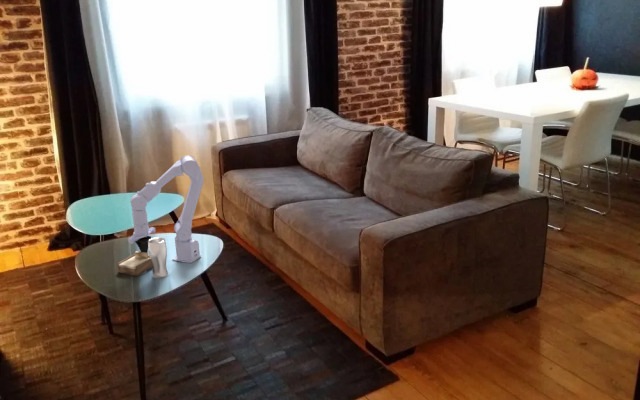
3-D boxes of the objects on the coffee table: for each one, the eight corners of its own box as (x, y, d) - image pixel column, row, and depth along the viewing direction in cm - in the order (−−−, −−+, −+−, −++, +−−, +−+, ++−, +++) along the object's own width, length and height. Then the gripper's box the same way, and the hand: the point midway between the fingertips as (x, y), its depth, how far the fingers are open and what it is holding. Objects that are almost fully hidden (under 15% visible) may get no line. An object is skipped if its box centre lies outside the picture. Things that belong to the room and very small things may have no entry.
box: (155, 265, 253) (154, 256, 252) (138, 276, 243) (137, 266, 242) (136, 262, 257) (135, 253, 256) (118, 272, 247) (117, 263, 246)
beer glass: (160, 280, 239) (156, 244, 235) (147, 276, 243) (143, 241, 238) (172, 273, 245) (169, 239, 240) (160, 270, 248) (156, 236, 244)
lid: (151, 259, 251) (150, 253, 250) (134, 269, 242) (133, 262, 242) (135, 257, 254) (134, 250, 253) (119, 266, 246) (118, 259, 245)
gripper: (144, 216, 257) (148, 246, 261) (120, 227, 244) (124, 258, 248) (158, 218, 254) (161, 248, 258) (134, 229, 241) (138, 261, 246)
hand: (144, 253), depth 253 cm, fingers closed
